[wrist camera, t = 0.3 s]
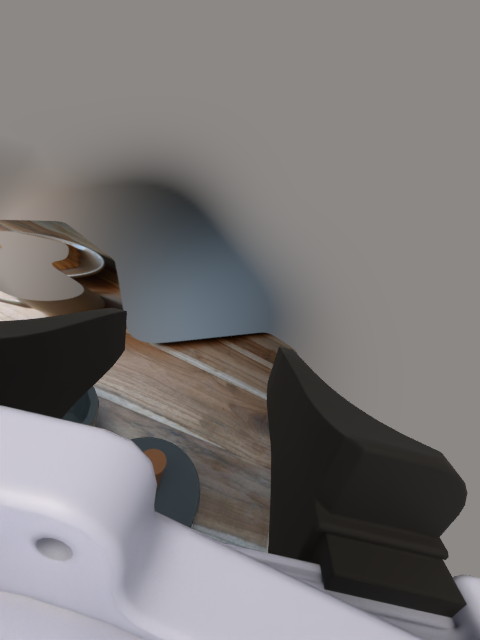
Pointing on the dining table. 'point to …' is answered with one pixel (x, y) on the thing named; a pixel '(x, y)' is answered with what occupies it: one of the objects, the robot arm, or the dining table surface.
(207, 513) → the dining table surface
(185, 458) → the lid
